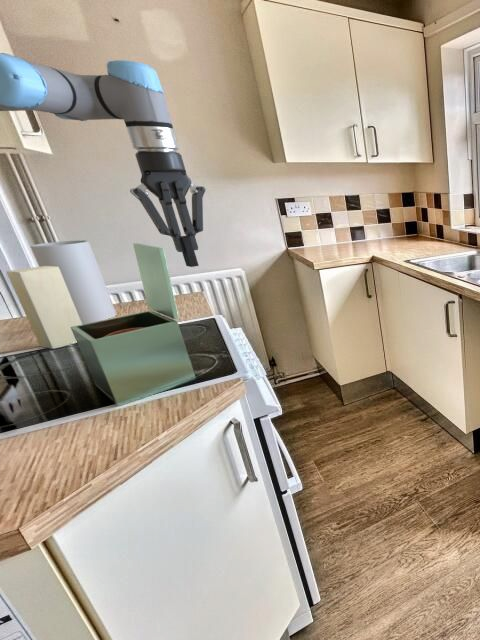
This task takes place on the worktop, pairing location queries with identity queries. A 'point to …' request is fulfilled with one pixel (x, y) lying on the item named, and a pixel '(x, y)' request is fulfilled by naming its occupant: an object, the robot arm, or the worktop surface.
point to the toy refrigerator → (46, 304)
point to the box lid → (156, 279)
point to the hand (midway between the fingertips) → (192, 265)
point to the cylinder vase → (78, 277)
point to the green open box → (135, 355)
